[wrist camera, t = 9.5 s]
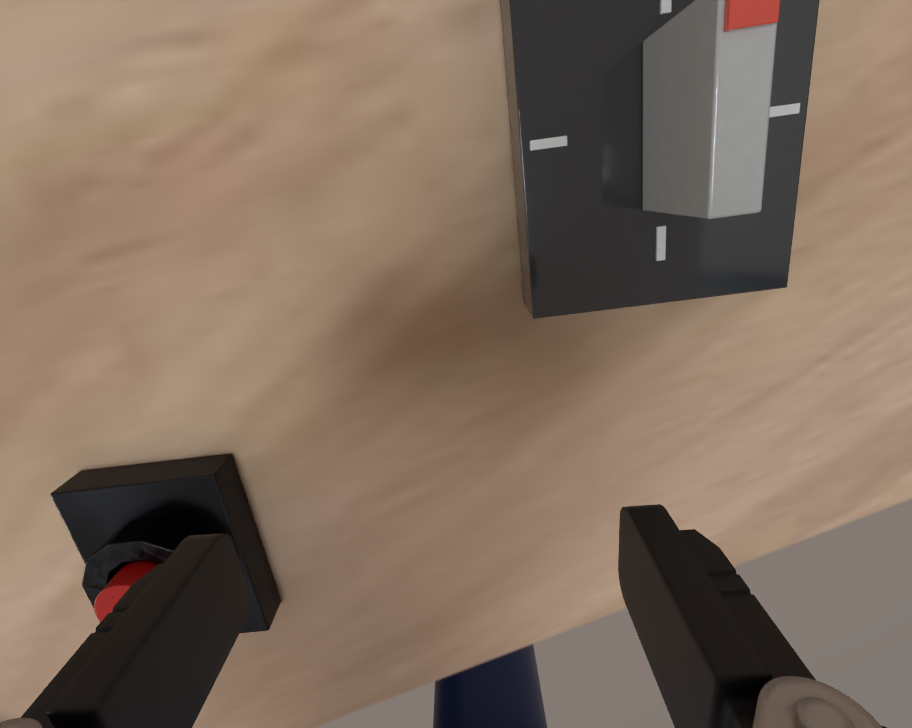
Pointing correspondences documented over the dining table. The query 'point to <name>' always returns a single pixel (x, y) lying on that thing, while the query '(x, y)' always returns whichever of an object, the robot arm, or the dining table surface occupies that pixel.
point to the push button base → (164, 522)
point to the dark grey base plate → (632, 162)
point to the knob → (708, 108)
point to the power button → (120, 586)
